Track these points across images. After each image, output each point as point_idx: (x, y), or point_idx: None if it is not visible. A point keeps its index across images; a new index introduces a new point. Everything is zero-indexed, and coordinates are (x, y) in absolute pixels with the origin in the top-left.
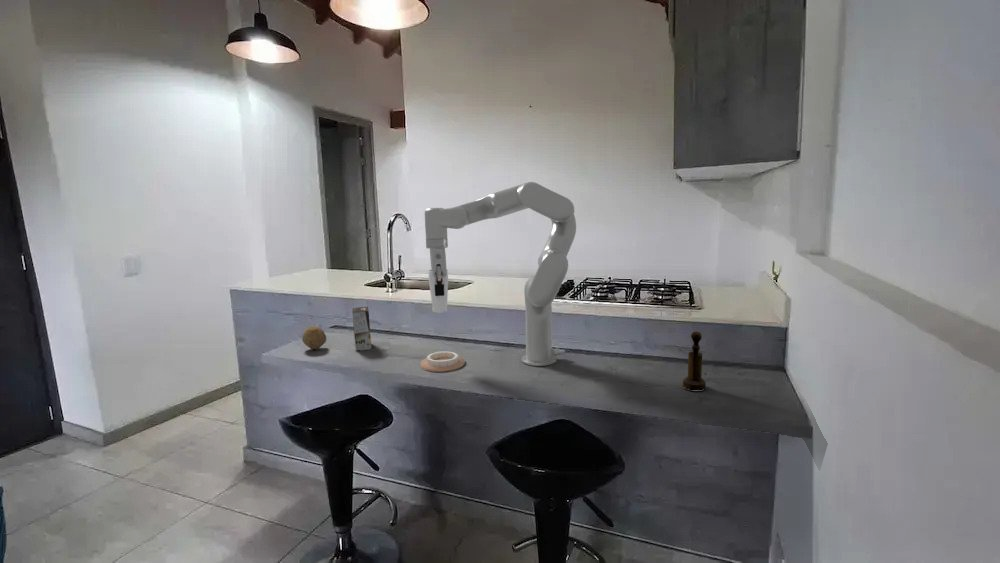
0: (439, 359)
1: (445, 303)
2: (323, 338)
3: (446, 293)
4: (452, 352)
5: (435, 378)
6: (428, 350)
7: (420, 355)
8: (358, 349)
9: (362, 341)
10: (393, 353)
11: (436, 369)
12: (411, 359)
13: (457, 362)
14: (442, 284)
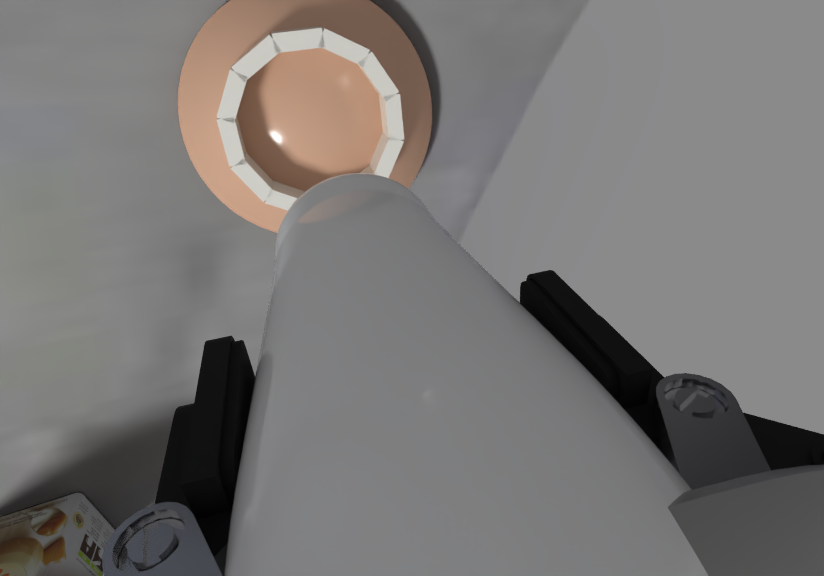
0: (276, 144)
1: (427, 214)
2: None
3: (458, 252)
4: (241, 68)
5: (504, 138)
6: (54, 231)
7: (159, 259)
8: (109, 529)
9: (87, 550)
10: (135, 388)
11: (427, 145)
12: (229, 290)
13: (336, 29)
14: (687, 386)
